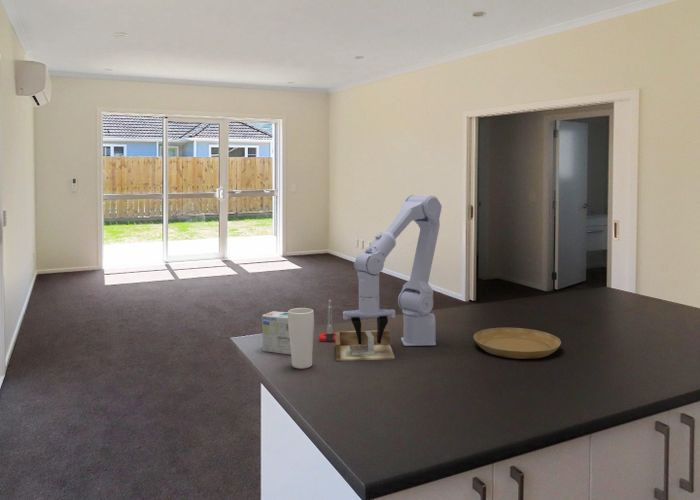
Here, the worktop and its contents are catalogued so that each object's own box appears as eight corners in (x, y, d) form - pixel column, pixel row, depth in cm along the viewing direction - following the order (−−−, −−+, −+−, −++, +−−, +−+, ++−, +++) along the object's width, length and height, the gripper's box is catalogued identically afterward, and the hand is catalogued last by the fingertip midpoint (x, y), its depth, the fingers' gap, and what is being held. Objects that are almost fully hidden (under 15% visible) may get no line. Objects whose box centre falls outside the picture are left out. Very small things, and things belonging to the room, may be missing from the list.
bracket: (374, 354, 159) (373, 337, 158) (352, 355, 158) (352, 338, 157) (370, 347, 166) (370, 330, 165) (349, 348, 165) (349, 331, 164)
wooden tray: (389, 343, 170) (389, 330, 170) (394, 357, 156) (394, 343, 156) (335, 344, 170) (335, 331, 169) (336, 358, 156) (335, 344, 155)
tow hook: (322, 335, 184) (315, 341, 175) (321, 295, 183) (315, 300, 174) (347, 336, 183) (343, 343, 173) (347, 296, 182) (343, 300, 173)
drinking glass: (318, 363, 154) (317, 308, 152) (308, 371, 147) (307, 314, 146) (295, 361, 156) (294, 307, 154) (284, 368, 149) (283, 312, 148)
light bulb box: (305, 349, 167) (305, 313, 166) (294, 355, 161) (293, 318, 160) (274, 345, 172) (273, 310, 170) (262, 351, 165) (260, 314, 164)
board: (389, 345, 170) (389, 343, 170) (394, 359, 156) (394, 357, 156) (335, 346, 170) (335, 344, 170) (336, 360, 156) (336, 358, 156)
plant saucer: (567, 364, 151) (567, 352, 151) (473, 359, 156) (474, 348, 156) (553, 339, 175) (554, 329, 174) (473, 336, 179) (473, 326, 179)
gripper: (391, 292, 165) (392, 338, 166) (341, 293, 163) (342, 340, 165) (396, 296, 158) (396, 344, 159) (344, 298, 156) (344, 347, 158)
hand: (369, 343), depth 162 cm, fingers open, 5 cm apart
